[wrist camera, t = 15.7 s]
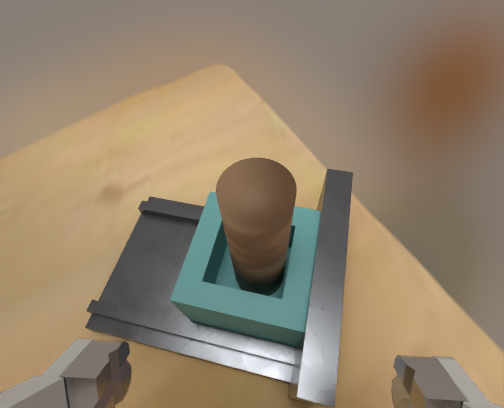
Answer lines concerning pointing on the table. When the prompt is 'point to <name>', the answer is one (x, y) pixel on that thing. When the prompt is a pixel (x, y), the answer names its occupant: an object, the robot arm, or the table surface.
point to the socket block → (229, 293)
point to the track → (217, 340)
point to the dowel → (257, 221)
